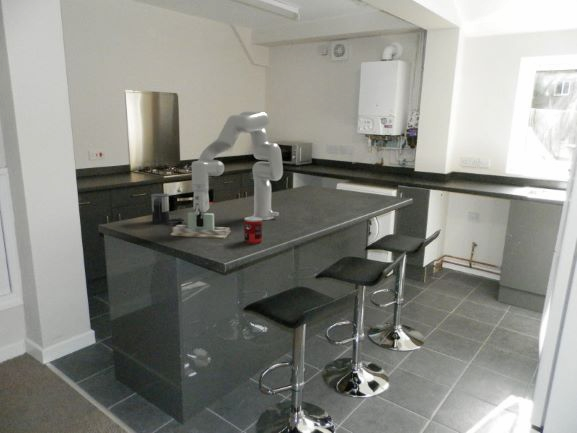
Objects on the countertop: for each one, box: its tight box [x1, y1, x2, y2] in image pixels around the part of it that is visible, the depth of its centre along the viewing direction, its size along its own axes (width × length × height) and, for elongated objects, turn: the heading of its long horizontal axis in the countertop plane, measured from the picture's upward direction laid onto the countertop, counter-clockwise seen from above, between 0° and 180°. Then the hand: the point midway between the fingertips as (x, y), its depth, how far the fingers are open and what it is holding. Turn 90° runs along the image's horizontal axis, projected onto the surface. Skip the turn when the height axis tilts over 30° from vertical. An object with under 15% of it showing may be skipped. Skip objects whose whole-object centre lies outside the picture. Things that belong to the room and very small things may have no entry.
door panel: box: [187, 212, 215, 230], centre depth 200 cm, size 12×3×9 cm, turn 84°
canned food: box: [243, 216, 263, 245], centre depth 189 cm, size 8×8×11 cm
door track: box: [170, 224, 232, 239], centre depth 201 cm, size 26×12×3 cm, turn 84°
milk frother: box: [150, 193, 185, 225], centre depth 219 cm, size 14×16×15 cm
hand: (201, 225), depth 200 cm, fingers open, 3 cm apart
